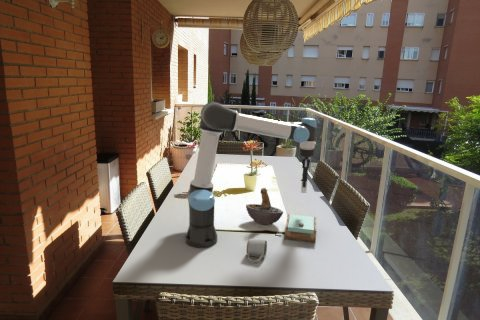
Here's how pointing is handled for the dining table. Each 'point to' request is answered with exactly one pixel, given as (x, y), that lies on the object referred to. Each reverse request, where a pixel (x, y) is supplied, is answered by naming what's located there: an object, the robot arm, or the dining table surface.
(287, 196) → the dining table surface
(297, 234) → the box
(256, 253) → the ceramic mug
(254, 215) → the planter
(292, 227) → the lid
